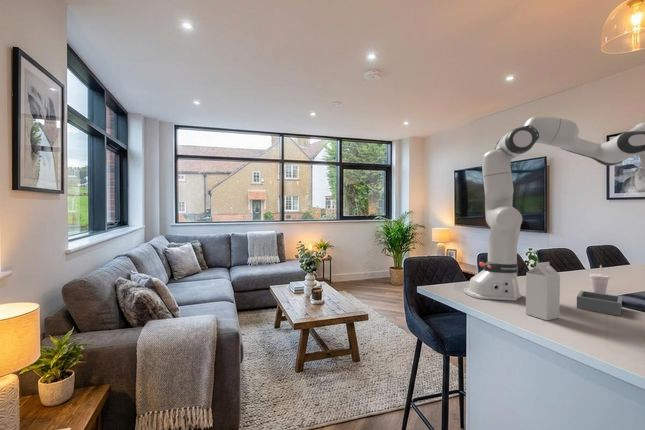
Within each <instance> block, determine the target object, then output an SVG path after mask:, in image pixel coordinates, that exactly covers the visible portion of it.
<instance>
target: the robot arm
mask: <svg viewBox="0 0 645 430" xmlns="http://www.w3.org/2000/svg"><path fill="white" fill-rule="evenodd" d="M579 130H580V129H579V127H578V124H577V123H576V122H574V121H572V120H570V119H566V118H561V117H555V116H545V115H544V116H543V115H541V116H540V115H539V116H537V115H536V116H530V117H529V118H528V119H527V120H526V121H525V123H524V124H523V126H519V127H516V128H513V129H511V130H510V131H508V132H507V133H505V134H504V135H503V136H502V137H500V139H499V140H498V141H497V142H496V145H495V148H494V149H492V150H488V151H487V152H485V153H484V155H483V156H482V163H481V165H482V168H481V169H482V170H481V171H482V172H481V174H482V180H483V189H484V209H485V210H484V212H485V213H484V214H485V221H486V222H485V223H486V224H487V225H488V227H490V231H489V238H488V243H487V261H486V262H483V261H479V266H480V267H481V268H483V269H482V270H481V271H480V272H478V273H477V274H475V275H474V276H472V277H470V279H469V284H468V287H464V288H463V291H462V292H463V293H464V294H466V295H468V296H470V297H472V298H474V299H479V300H497V301H498V300H500V301H518V299H520V298H521V297H522V295H521V292H520V289H519V282H518V273H519V265H518V259H517V257H518V243H519V237H520V234H521V233H520V231H521V225H522V223H523V215H522V214H521V212H520V211H519V210H518V209H517V208H515V207H514V206H513V202H514V201H513V199H514V198H513V197H514V183H513V175H512V174H513V173H512V169H511V161H512V159H514V158H516V157H520V156H522V155H524V154H526V153H527V152H528V151H530V150H531V149H532V148H533V146H534V145H535V144H538V143H539V144H544V145H548V146H552V147H555V148H559V149H561V150H564V151H566V152H568V153H573V154H575V155H579V156H582V157H585V158H586V157H587V158H589V159H592V160H594V161H596V162H597V163H599V164H601V165H604V166H609V167H610V166H616V165H618V164H620V163H621V162H624V161H625V160H628V159H630V158H632V157H634V156H638V157H639V160H640V161H639V162H640V165H641V167H639V168H638V169H637V170H636V171H635V172H634V173H635V174H634V185H635V189H636V190H637V191H638V192H641V191H642V192H643V191H645V121H643V122H641V123H637V124H636V125H635V126H634V127H633V128H631V129H629V130H628V131H626V132H622V133H621V134H618V135H617V136H615V137H614V138H612V139H610V140H609V141H606V142H602V143H601V142H600V143H599V142H598V143H597V142H593V141H590V140H586V139H583V138H581V137H579V132H580V131H579Z"/></svg>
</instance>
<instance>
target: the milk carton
mask: <svg viewBox="0 0 645 430" xmlns="http://www.w3.org/2000/svg"><path fill="white" fill-rule="evenodd" d="M525 276H526V277H525V315H528V316H531V317H535V318H538V319H540V320H544V321H550V320H554V319H559V318H560V295H561V293H560V290H561V275H560V273H558V271H557V270H556V269H554V268H553V266H552V265H550V261H546V262H545V261H544V262H537V263H535V266H534V267H533V268H532V269H530V270H528V271H527V272H526V275H525Z"/></svg>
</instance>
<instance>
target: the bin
mask: <svg viewBox="0 0 645 430" xmlns="http://www.w3.org/2000/svg"><path fill="white" fill-rule="evenodd" d="M576 309H580V310H585V311H590V312H591V311H592V312H596V313H600V314H606V315H613V316H619V317H621V315H622V310H623V296H622V295H621V296H619V295H612V294H608V293H607V294H601V293H594V292H592V291H586V290H579V292H578V294H577V296H576Z"/></svg>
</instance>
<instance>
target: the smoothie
mask: <svg viewBox="0 0 645 430" xmlns="http://www.w3.org/2000/svg"><path fill="white" fill-rule="evenodd" d="M602 266H603V265H602V264H600V265H599V273H589V274H588V275H589V276H588V277H589V278H590V279H589V280H590V285H591V292H594V293H601V294H606V293H607V287H608V283H609V280H610V276H609V275H606V274H602V273H603V270H602V268H603V267H602Z"/></svg>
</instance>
